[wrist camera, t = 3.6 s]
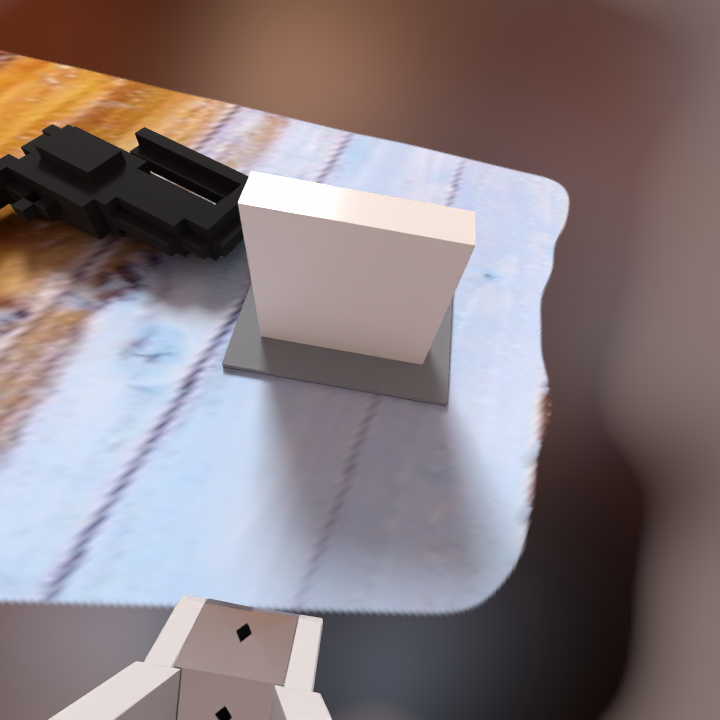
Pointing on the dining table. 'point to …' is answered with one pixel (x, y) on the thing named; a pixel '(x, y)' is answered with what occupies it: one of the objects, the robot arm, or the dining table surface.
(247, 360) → the mat
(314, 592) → the dining table surface
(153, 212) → the tool
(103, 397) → the dining table surface
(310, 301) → the tile
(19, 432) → the dining table surface
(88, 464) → the dining table surface
